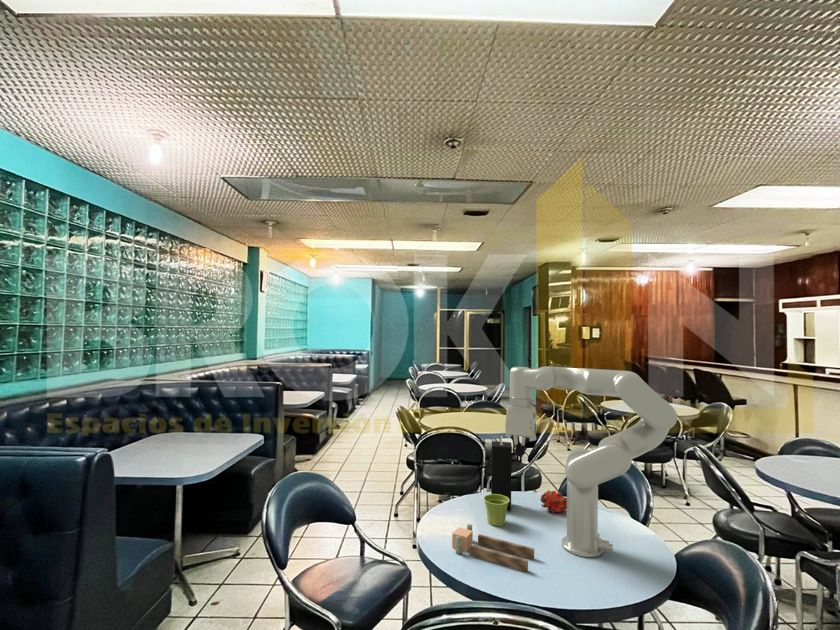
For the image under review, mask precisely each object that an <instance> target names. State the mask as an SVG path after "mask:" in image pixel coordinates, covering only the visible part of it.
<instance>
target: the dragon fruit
mask: <svg viewBox="0 0 840 630" xmlns="http://www.w3.org/2000/svg"><path fill="white" fill-rule="evenodd" d="M539 500H540V502H541V507H542V508H543V509H544V508H545V509H546V508H547V511H549V512H551V513H553V514H555V513H556V512H557V513H560V514H565V513H566V511H567V497H565V496H563V494H562V493H561V492H560V491H558V492H557V491H556V490H552V491H550V490H546V491H545V492H544V493H543V494H541V496H540V499H539Z"/></svg>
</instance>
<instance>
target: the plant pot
mask: <svg viewBox="0 0 840 630" xmlns="http://www.w3.org/2000/svg"><path fill="white" fill-rule="evenodd" d="M509 501H510V500H509V498H508V497H506V496H503V495H499V494H491V493H490V494H486V495H484V496H483V502H484V504H485V508H486V516H487V522H488V524H489V525H491V526H496V527H501V526H502V527H503V526H504V525H505V523H506V518H507V517H506V516H507V512H508V511H507V506H508V503H509Z"/></svg>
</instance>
